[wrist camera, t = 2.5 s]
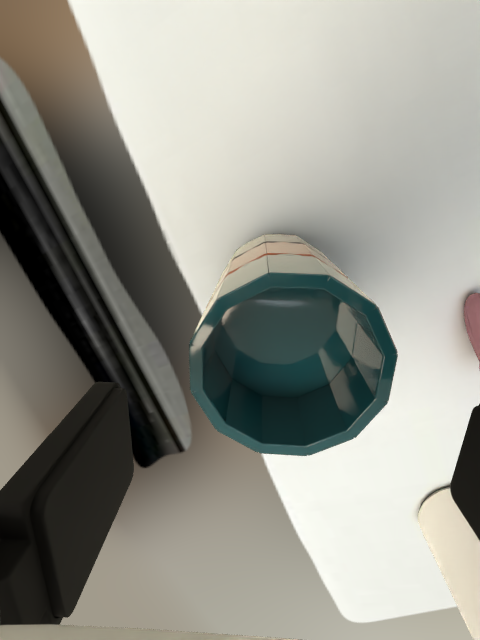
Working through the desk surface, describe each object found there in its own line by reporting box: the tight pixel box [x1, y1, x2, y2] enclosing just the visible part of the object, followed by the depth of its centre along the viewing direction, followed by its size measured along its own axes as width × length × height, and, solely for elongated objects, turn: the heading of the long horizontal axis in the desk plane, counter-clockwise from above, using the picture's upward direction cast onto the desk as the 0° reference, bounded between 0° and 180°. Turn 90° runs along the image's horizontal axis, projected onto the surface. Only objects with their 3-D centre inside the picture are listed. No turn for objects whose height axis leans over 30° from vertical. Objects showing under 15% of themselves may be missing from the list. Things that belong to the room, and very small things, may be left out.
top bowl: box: [189, 254, 398, 456], centre depth 15 cm, size 7×7×5 cm
